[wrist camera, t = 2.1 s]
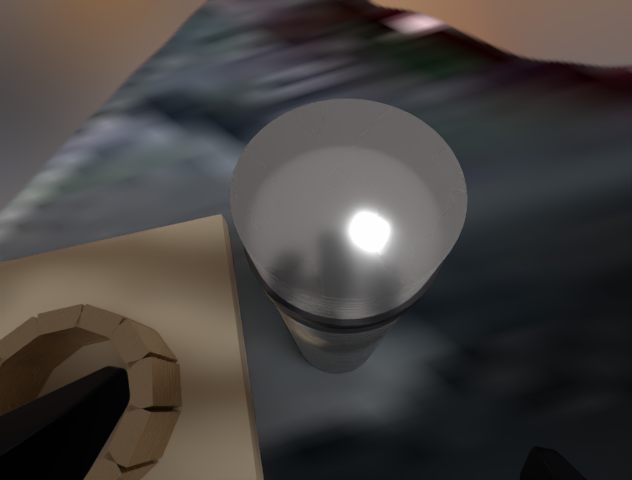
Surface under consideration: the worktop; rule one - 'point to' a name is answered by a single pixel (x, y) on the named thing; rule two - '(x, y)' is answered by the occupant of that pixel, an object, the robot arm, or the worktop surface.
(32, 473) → the robot arm
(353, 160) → the steel tube
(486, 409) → the worktop surface
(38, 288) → the oak base board
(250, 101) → the worktop surface
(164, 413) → the wooden collar
